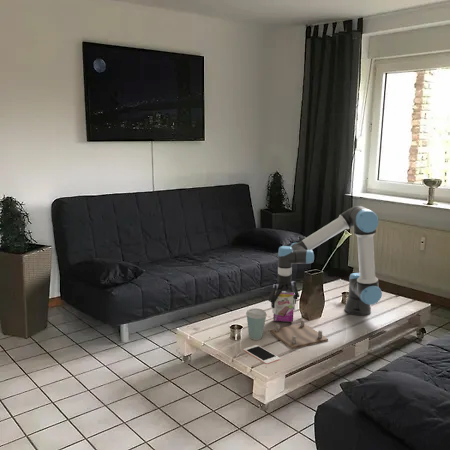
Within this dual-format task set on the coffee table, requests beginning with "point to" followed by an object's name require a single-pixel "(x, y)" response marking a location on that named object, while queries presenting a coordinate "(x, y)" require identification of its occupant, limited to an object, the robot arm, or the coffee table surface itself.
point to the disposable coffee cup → (256, 322)
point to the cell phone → (261, 354)
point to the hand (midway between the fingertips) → (283, 311)
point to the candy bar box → (284, 307)
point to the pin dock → (298, 335)
